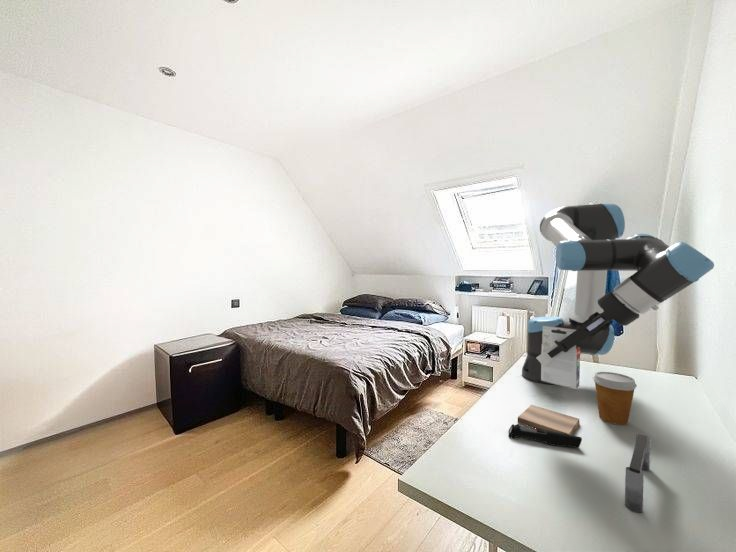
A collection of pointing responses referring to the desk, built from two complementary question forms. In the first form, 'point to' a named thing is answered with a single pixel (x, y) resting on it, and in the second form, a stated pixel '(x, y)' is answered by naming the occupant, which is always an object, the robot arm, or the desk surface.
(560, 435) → the electric trimmer
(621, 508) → the desk surface
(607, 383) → the disposable coffee cup
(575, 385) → the ink box
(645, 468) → the dark grey cabinet handle
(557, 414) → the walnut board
